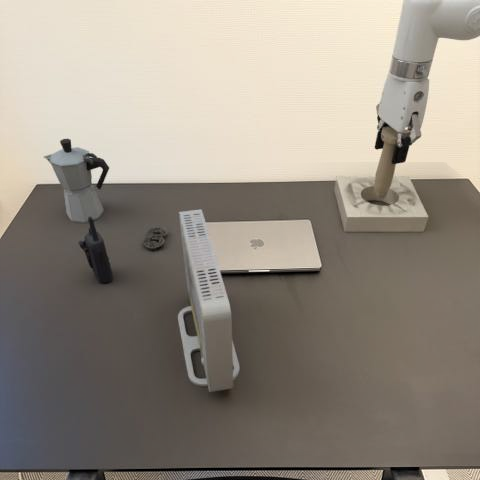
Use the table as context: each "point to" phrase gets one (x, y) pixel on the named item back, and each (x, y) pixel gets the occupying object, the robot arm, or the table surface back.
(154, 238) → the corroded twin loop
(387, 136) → the handle
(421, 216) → the square block with hole
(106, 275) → the two-way radio
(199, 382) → the network device
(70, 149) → the coffee maker
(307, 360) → the table surface
